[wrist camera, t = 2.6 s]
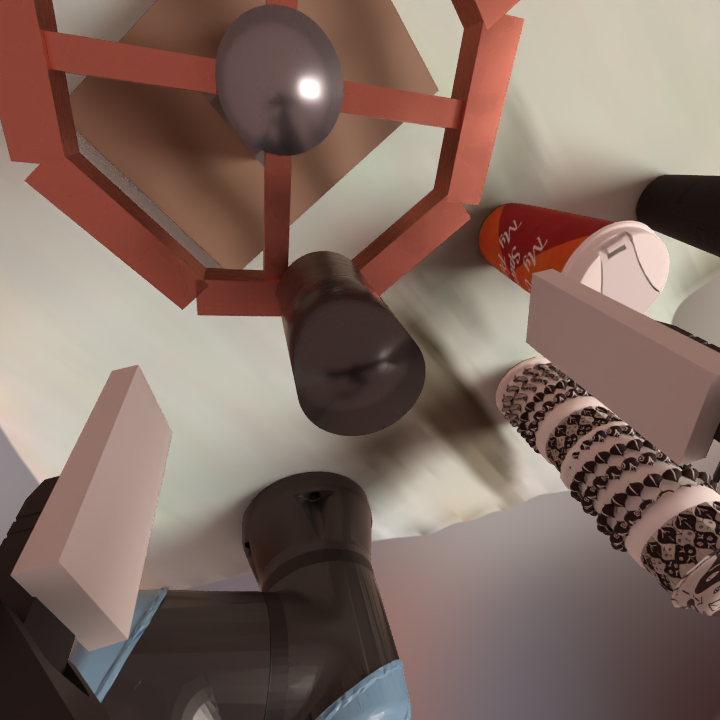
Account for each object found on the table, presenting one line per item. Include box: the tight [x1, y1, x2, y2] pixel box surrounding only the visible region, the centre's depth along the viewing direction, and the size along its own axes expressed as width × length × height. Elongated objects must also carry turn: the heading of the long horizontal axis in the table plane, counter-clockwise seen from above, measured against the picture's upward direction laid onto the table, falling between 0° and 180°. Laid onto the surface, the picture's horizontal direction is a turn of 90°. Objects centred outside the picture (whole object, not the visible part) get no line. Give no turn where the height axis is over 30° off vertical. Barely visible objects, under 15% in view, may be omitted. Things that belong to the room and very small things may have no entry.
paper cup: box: [478, 203, 670, 314], centre depth 33 cm, size 8×8×14 cm
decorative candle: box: [495, 357, 720, 616], centre depth 38 cm, size 9×9×25 cm
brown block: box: [69, 0, 438, 270], centre depth 25 cm, size 20×14×10 cm
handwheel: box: [0, 0, 524, 436], centre depth 15 cm, size 18×18×15 cm
